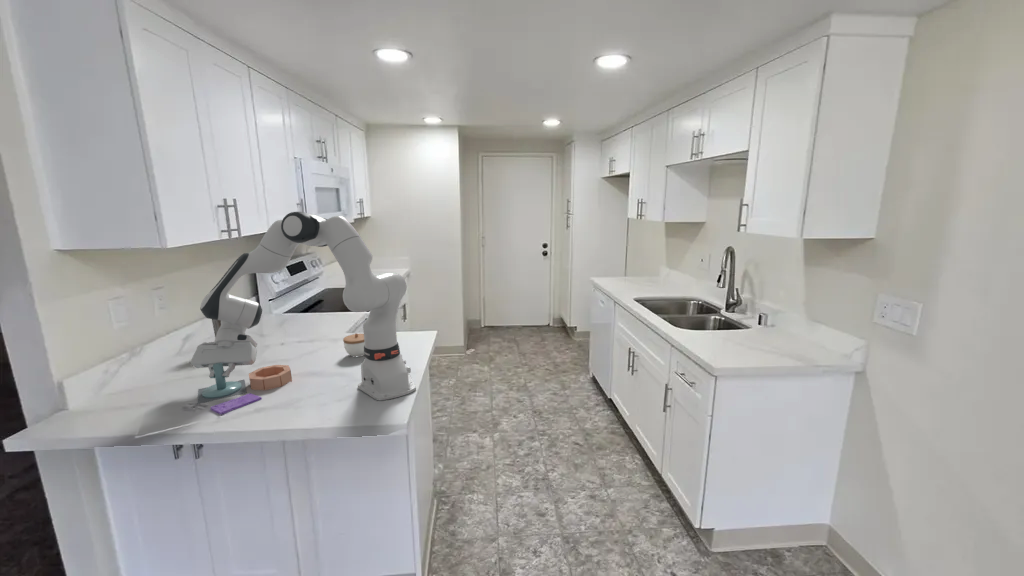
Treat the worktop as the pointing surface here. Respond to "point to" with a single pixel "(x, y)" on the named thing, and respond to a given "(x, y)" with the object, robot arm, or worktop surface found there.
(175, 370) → the worktop surface
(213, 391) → the lid
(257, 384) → the bowl
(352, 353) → the lidded jar
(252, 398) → the sponges
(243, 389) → the mat
